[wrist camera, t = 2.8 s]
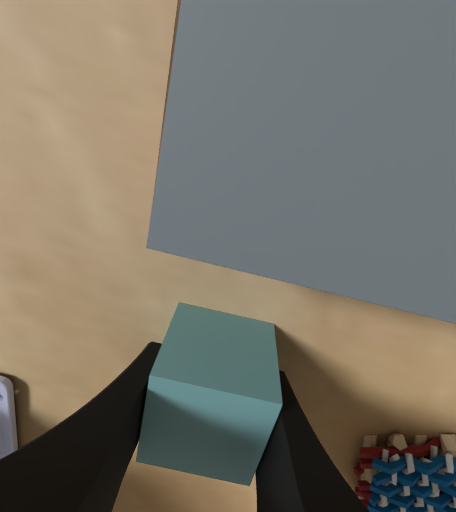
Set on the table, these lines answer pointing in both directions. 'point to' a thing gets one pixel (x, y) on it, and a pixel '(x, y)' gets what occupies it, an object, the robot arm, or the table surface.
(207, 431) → the teal cube
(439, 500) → the woven mat
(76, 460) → the robot arm
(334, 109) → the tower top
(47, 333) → the table surface
